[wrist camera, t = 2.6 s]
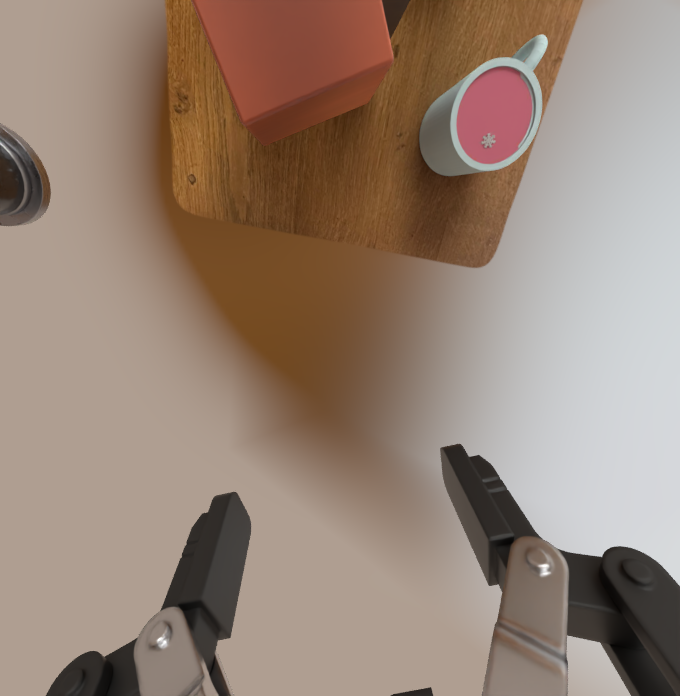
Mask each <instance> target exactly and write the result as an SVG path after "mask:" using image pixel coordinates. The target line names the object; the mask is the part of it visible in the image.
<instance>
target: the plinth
mask: <svg viewBox="0 0 680 696" xmlns="http://www.w3.org/2000/svg"><path fill="white" fill-rule="evenodd" d="M409 1H410V0H382V3H383V8H384V13H385V18H386V23H387V27H388V32H389V37H390V39H391V37H392V35H393V33H394V31H395V29H396V27H397V25H398V23H399V21H400V19H401V17H402V15H403V13H404V11H405V9H406V7H407V5H408V3H409Z"/></svg>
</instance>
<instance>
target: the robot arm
mask: <svg viewBox="0 0 680 696" xmlns="http://www.w3.org/2000/svg"><path fill="white" fill-rule="evenodd" d="M30 194H31V184H30V179H29V176H28V173H27V171H26V168H25V167H24V165H23V163H22V161H21V160H20V158H19V157H18V156H17V155H16V153H15V152H14V151H13V150H12V149H11V148H10V147H9V146H8V145H7V144H6V143H4V142H3V141H2V140H1V139H0V216H5V215H12V214H16V213H18V212H20V211H21V210H22V209H24V207H25V206H26V205H27V203H28V201H29V199H30ZM440 451H441V462H442V472H443V479H444V483H445V486H446V489H447V492H448V494H449V497H450V499H451V501H452V503H453V506H454V508H455V510H456V512H457V515H458V517H459V519H460V521H461V524H462V526H463V528H464V530H465V533H466V535H467V537H468V539H469V542H470V544H471V546H472V549H473V551H474V553H475V555H476V558H477V560H478V562H479V564H480V567H481V569H482V571H483V573H484V576H485V578H486V580H487V582H488V585H489V586H492V585H497V584H499V586H500V588H501V590H502V598H501V604H500V609H499V614H498V619H497V622H496V624H495V627H494V632H493V637H492V642H491V648H490V653H489V659H488V664H487V670H486V675H485V681H484V687H483V692H482V696H567V694H568V662H567V657H566V647H567V635H568V636H573V637H578V638H583V639H587V640H592V641H597V642H600V643H601V645H602V646H603V648H604V650H605V651H606V653H607V655H608V657H609V658H610V660H611V662H612V663H613V665H614V667H615V669H616V670H617V672H618V674H619V675H620V677H621V679H622V681H623V682H624V684H625V686H626V688H627V689H628V691H629V693H630V694H631V696H680V586H679V585H678V584H677V583H676V581H675V580H674V579H673V578H672V577H671V576H670V575H669V573H668V572H667V571H666V570H665V569H664V568H663V567H662V566H661V565H660V564H659V563H658V562H656V561H655V560H654V559H652V558H651V557H649V556H648V555H646V554H644V553H642V552H640V551H638V550H635V549H632V548H628V547H621V546H619V547H612V548H610V549H608V550H606V551H605V552H604V554H603V556H602V557H597V556H589V555H582V554H575V553H569V552H565V551H562V550H559V549H557V548H556V547H554V546H553V545H552V544H550V543H549V542H547V541H545V540H543V539H542V538H541V537H540V536H539V535H538V534H537V533H536V532H535V530H534V529H533V528H532V526H531V525H530V523H529V521H528V520H527V518H526V517H525V515H524V514H523V512H522V511H521V509H520V508H519V506H518V504H517V503H516V501H515V500H514V498H513V497H512V495H511V494H510V492H509V491H508V490H507V488H506V486H505V485H504V483H503V481H502V480H501V479H500V477H499V475H498V474H497V472H496V471H495V469H494V468H493V466H492V465H491V464H490V463H489V462H487V461H486V460H485V459H483V458H482V457H481V456H480V455H477V456H472V457H469V456H468V455H467V453H466V451H465V449H464V448H463V446H462V445H461V444H456V445H451V446H447V447H442V448H441V449H440ZM250 535H251V521H250V517H249V515H248V513H247V511H246V509H245V507H244V506H243V504H242V501H241V500H240V498H239V496H238V494H237V493H236V492H231V493H227V494H222V495H217V496H215V497H214V498H213V500H212V503H211V506H210V509H209V511H208V513H203V514H202V515H201V516H200V517H199V519H198V520H197V522H196V523H195V524H194V526H193V527H192V529H191V532H190V535H189V537H188V540H187V545H186V546H185V548H184V550H183V553H182V558H181V559H180V561H179V564H178V566H177V569H176V572H175V574H174V577H173V580H172V582H171V585H170V588H169V590H168V593H167V596H166V598H165V601H164V604H163V606H162V608H161V610H160V612H158V613H157V614H156V615H154V616H153V617H152V618H151V619H150V620H149V621H148V623H147V624H146V625H145V626H144V628H143V629H142V631H141V633H140V634H139V636H138V638H136V639H135V640H133V641H132V642H130V643H128V644H126V645H125V646H123V647H121V648H119V649H118V650H116V651H114V652H112V653H110V654H109V655H107V656H105V657H104V656H102V655H101V654H100V653H99V652H96V651H90V652H87V653H84V654H82V655H80V656H79V657H77V658H76V659H75V660H74V661H72V662H71V663H70V664H69V665H68V666H67V667H66V668H65V669H64V670H63V671H62V672H61V673H60V674H59V676H58V677H57V678H56V679H55V681H54V683H53V684H52V685H51V687H50V689H49V691H48V693H47V695H46V696H234V694H233V692H232V689H231V686H230V684H229V681H228V679H227V676H226V673H225V671H224V668H223V666H222V663H221V661H220V658H219V656H218V654H217V652H216V646H217V641H218V640H223V639H227V638H230V637H231V632H232V627H233V621H234V616H235V611H236V606H237V601H238V596H239V591H240V586H241V581H242V576H243V571H244V565H245V560H246V555H247V550H248V545H249V540H250ZM391 696H433V694H432V689H431V687H430V688H425V689H420V690H414V691H409V692H403V693H398V694H393V695H391Z"/></svg>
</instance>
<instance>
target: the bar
mask: <svg viewBox="0 0 680 696" xmlns="http://www.w3.org/2000/svg"><path fill="white" fill-rule="evenodd" d="M191 1H192V4H193V6H194V9H195V11H196V14H197V16H198V19H199V21H200V24H201V26H202V28H203V31H204V33H205V36H206V38H207V41H208V43H209V46H210V48H211V50H212V53H213V55H214V58H215V60H216V63H217V65H218V68H219V70H220V72H221V75H222V77H223V80H224V82H225V85H226V87H227V90H228V92H229V95H230V97H231V99H232V102H233V104H234V107H235V109H236V112H237V114H238V117H239V119H240V121H241V123H242V124H243V125H244V126H245V127H246V128H247V129H248V131H249V132H250V133H251V134H252V135H253V136H254V137H255V138H256V139H257V140H258V141H259V142H260V143H261V144H262V145H264V146H266V145H268V144H271V143H273V142H275V141H278V140H280V139H283V138H285V137H287V136H290V135H292V134H295V133H297V132H299V131H302V130H304V129H307V128H309V127H312V126H314V125H316V124H319V123H321V122H324V121H326V120H328V119H331V118H333V117H336V116H338V115H340V114H343V113H345V112H348V111H350V110H353V109H355V108H357V107H360V106H362V105H365V104H367V103H368V102H369V101H370V99H371V98H372V96H373V94H374V93H375V91H376V90H377V88H378V86H379V85H380V83H381V81H382V80H383V78H384V77H385V75H386V73H387V72H388V70H389V68H390V67H391V65H392V63H393V60H394V56H393V51H392V46H391V42H390V37H389V32H388V27H387V23H386V18H385V13H384V8H383V3H382V0H191Z"/></svg>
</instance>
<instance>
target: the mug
mask: <svg viewBox="0 0 680 696" xmlns="http://www.w3.org/2000/svg"><path fill="white" fill-rule="evenodd" d="M547 44H548V41H547V38H546V36H545V35H538V36H536V37H534V38H532V39H531V40H530V41H528V42H527V43H526V44H525V45H524V46H522V47H521V48H520V49H519V50H518V51H517V52H516V53H515V54H514V55H513V57H512V58H509V57H502V58H496V59H492V60H490V61H487V62H486V63H484V64H482V65H481V66H479V67H478V68H476V69H475V70H474V71H473V72H471V73H470V74H469V75H467V76H466V77H465V78H464V79H462V80H461V81H460V82H458V83H457V84H456V85H454V86H453V87H452V88H451V89H449V90H448V91H447V92H445V93H444V94H443V95H441V96H440V97H439V98H438V99H436V100H435V101H434V102H433V104H432V105H431V106H430V107H429V109H428V110H427V112H426V114H425V116H424V118H423V121H422V124H421V128H420V135H419V143H420V150H421V153H422V156H423V158H424V160H425V162H426V163H427V165H428V166H429V167H430V168H431V169H432V170H433V171H435V172H436V173H438V174H441V175H444V176H457V175H464V174H471V173H478V172H485V171H492V170H497V169H501V168H503V167H505V166H507V165H509V164H511V163H512V162H514V161H515V160H516V159H517V158H519V157H520V156H521V155H522V154H523V153H524V151H525V150H526V149H527V148H528V146H529V145H530V143H531V142H532V140H533V138H534V136H535V134H536V131H537V129H538V126H539V123H540V118H541V113H542V94H541V89H540V85H539V82H538V80H537V78H536V76H535V74H534V73H533V70H534V69H535V67H536V66H537V64H538V63H539V61H540V60H541V58H542V56H543V55H544V53H545V51H546V47H547ZM527 57H528V58H527ZM526 58H527V59H526ZM525 59H526V61H525V62H524V63H523V61H524V60H525Z"/></svg>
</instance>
